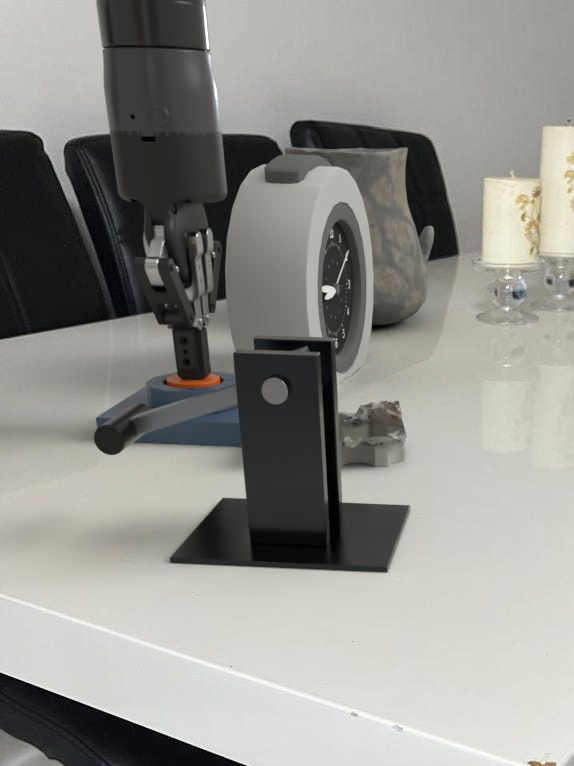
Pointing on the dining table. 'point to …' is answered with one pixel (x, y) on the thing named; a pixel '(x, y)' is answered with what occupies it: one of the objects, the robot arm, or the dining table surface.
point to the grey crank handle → (160, 417)
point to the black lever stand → (292, 473)
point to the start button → (193, 381)
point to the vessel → (386, 228)
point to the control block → (196, 431)
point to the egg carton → (372, 435)
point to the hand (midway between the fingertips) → (194, 377)
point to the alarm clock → (301, 258)
